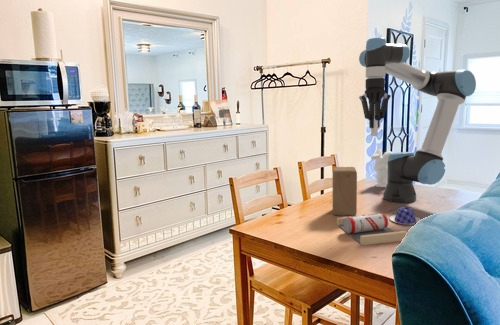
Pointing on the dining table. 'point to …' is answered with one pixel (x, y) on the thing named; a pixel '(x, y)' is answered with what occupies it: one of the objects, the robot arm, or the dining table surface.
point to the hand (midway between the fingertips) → (374, 135)
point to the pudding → (405, 216)
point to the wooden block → (344, 191)
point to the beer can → (365, 223)
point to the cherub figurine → (381, 167)
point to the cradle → (374, 235)
